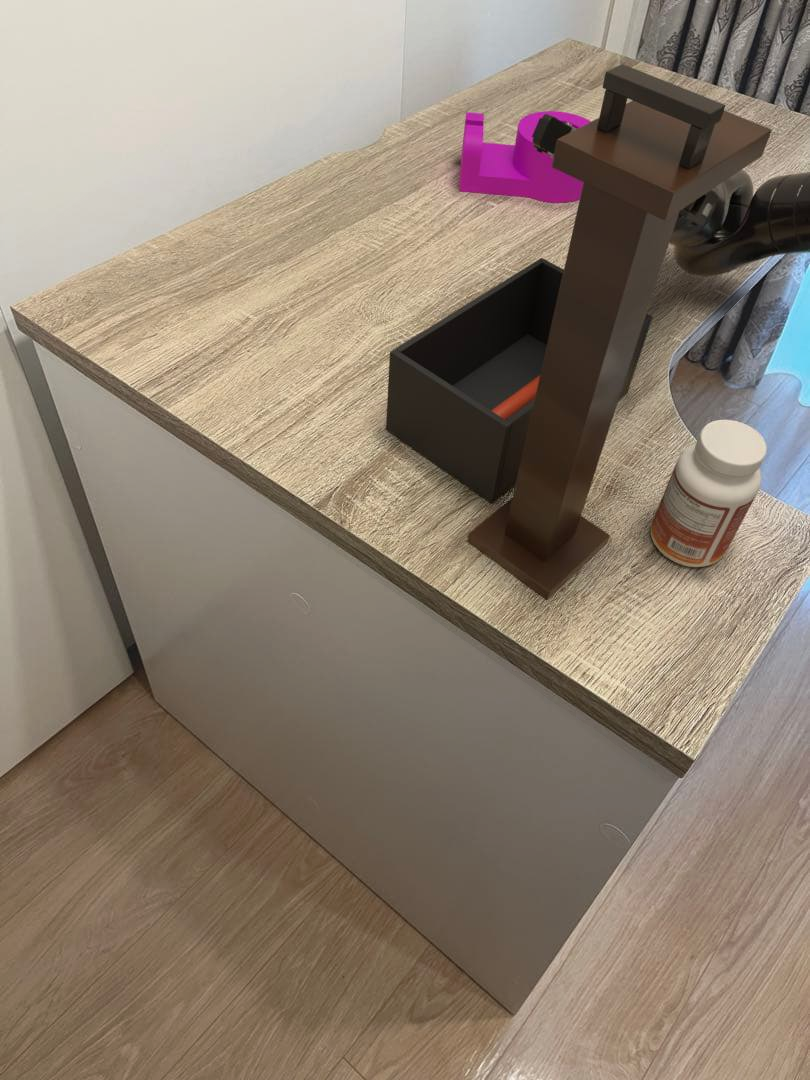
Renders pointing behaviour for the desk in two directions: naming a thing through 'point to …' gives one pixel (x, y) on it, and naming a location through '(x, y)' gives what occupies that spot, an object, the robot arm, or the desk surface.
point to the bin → (479, 380)
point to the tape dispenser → (515, 162)
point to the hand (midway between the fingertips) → (588, 150)
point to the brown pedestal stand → (606, 303)
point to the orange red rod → (517, 400)
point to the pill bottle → (709, 494)
